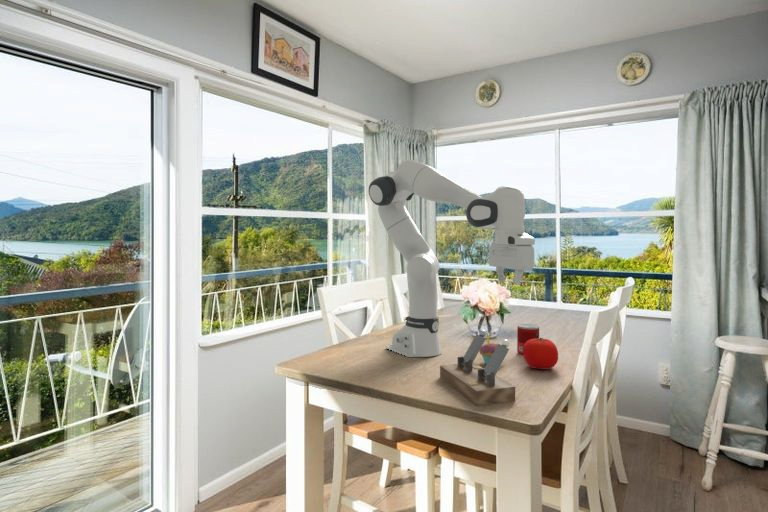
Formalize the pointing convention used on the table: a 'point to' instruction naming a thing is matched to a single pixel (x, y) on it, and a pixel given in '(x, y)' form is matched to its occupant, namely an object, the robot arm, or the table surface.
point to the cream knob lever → (497, 358)
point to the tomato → (540, 353)
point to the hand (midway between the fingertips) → (509, 282)
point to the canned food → (526, 335)
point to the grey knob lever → (474, 347)
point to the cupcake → (487, 350)
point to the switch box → (477, 383)
